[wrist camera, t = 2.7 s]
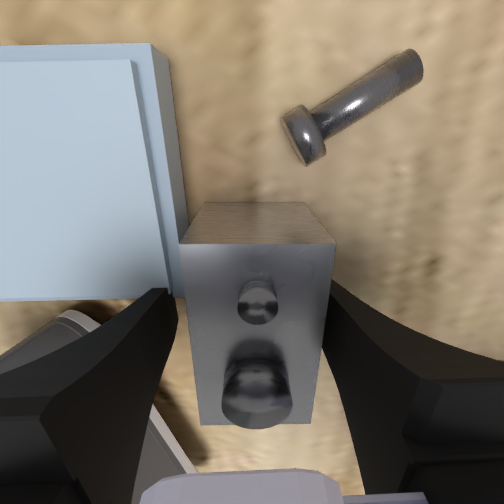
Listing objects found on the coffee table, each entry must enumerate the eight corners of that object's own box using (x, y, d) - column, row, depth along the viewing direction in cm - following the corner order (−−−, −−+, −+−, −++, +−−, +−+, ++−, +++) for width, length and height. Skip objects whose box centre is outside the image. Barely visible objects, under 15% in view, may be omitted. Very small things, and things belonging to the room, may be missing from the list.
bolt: (394, 42, 10) (428, 21, 8) (411, 97, 10) (446, 88, 9) (278, 119, 11) (284, 115, 9) (301, 164, 11) (310, 169, 9)
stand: (168, 59, 10) (143, 37, 7) (194, 274, 13) (184, 303, 11) (-163, 65, 10) (-290, 45, 7) (-44, 280, 13) (-104, 311, 11)
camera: (109, 302, 13) (-406, 686, 4) (224, 491, 18) (95, 811, 10) (21, 304, 17) (-314, 495, 9) (136, 455, 23) (-3, 657, 15)
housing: (303, 201, 12) (348, 259, 7) (292, 337, 15) (316, 450, 10) (204, 201, 12) (169, 260, 7) (214, 338, 15) (196, 451, 10)
